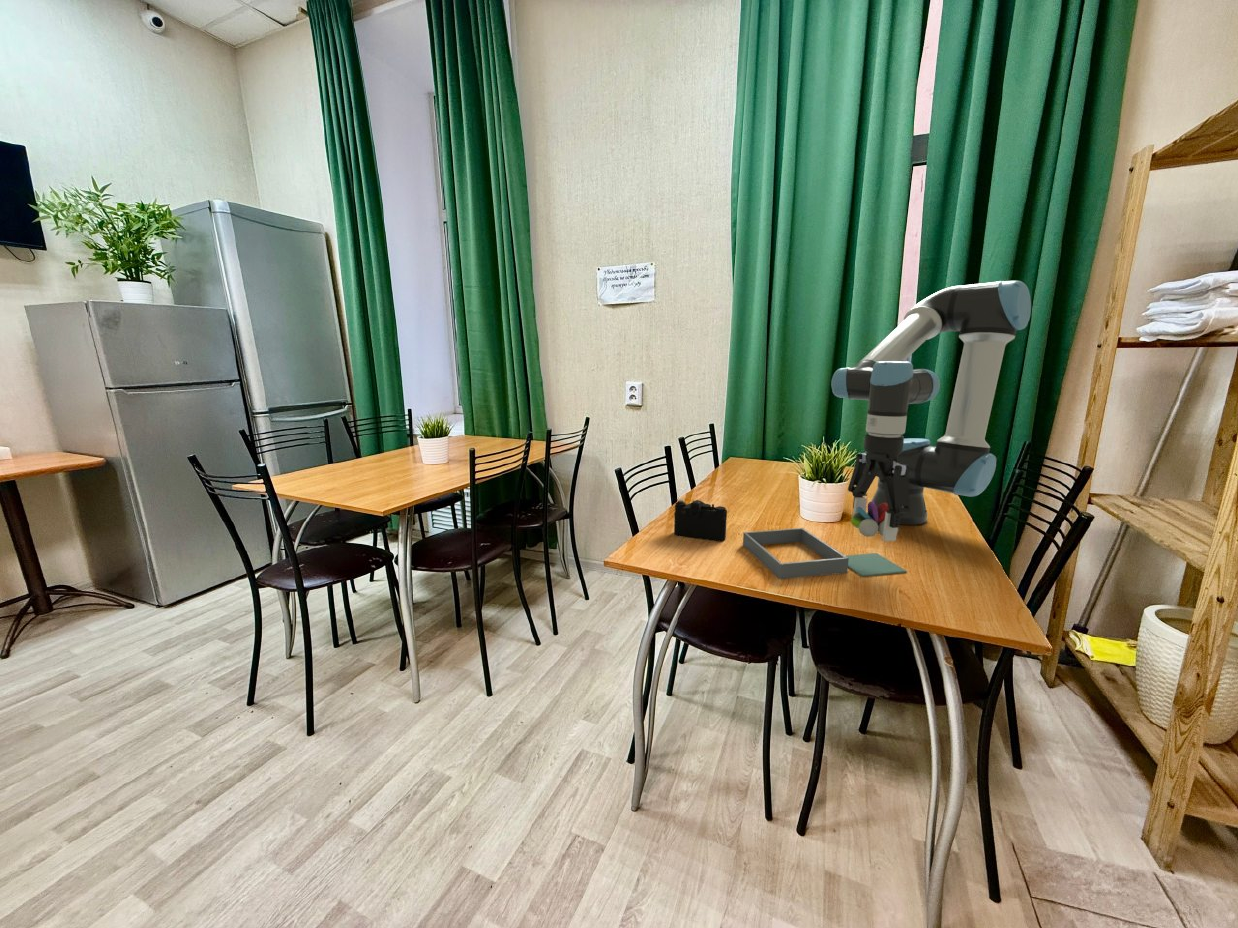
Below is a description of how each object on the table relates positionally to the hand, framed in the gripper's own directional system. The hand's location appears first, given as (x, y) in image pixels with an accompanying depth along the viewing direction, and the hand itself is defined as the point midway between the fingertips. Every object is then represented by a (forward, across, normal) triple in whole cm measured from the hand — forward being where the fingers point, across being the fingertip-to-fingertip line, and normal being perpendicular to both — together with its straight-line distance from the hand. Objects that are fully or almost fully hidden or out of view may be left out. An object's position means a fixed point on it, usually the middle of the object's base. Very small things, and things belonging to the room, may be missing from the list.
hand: (872, 531), depth 110 cm
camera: (+9, -27, -31) cm, 42 cm away
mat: (+8, 0, 0) cm, 8 cm away
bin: (+8, -7, -15) cm, 19 cm away
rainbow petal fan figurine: (0, 0, 0) cm, 0 cm away
